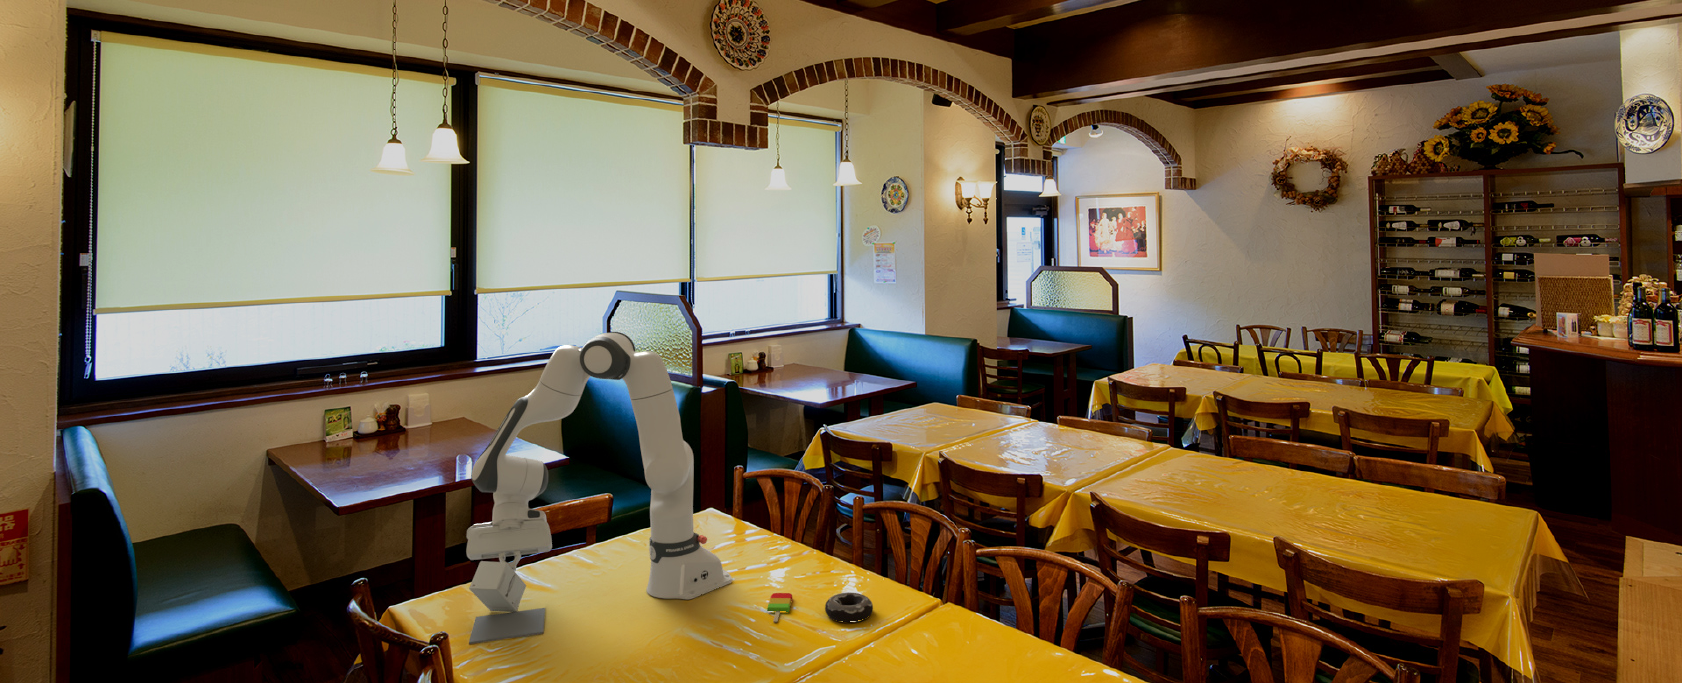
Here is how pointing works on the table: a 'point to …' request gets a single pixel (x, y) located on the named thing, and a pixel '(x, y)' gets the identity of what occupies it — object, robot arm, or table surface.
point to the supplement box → (498, 586)
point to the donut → (848, 607)
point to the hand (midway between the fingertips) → (509, 570)
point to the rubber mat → (507, 625)
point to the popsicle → (779, 603)
